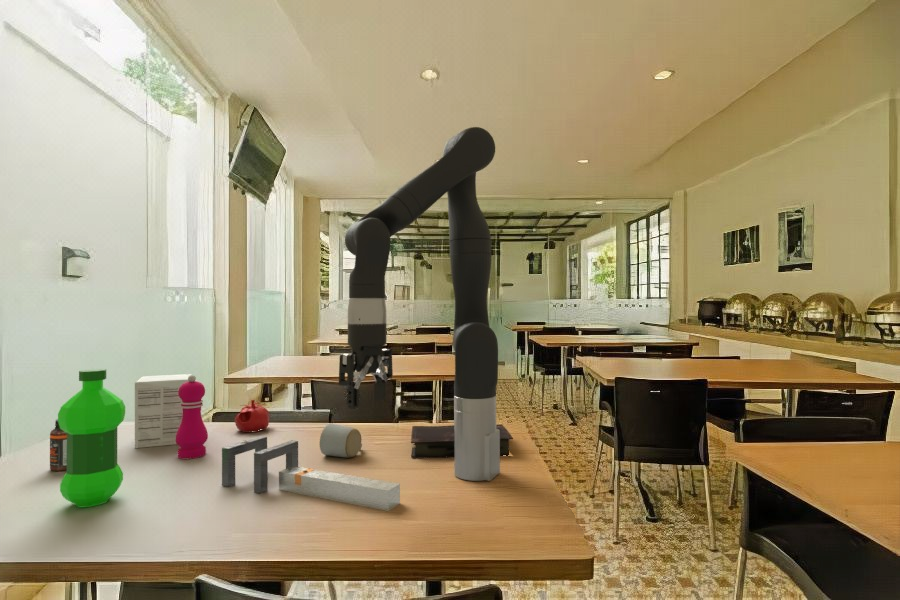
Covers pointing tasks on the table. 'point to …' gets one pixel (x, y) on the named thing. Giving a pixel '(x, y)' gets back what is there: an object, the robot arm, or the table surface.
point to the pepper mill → (191, 421)
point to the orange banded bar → (340, 487)
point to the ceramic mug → (340, 441)
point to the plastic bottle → (91, 441)
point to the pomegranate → (252, 418)
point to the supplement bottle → (58, 449)
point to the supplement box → (158, 409)
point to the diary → (445, 441)
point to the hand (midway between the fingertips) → (367, 404)
